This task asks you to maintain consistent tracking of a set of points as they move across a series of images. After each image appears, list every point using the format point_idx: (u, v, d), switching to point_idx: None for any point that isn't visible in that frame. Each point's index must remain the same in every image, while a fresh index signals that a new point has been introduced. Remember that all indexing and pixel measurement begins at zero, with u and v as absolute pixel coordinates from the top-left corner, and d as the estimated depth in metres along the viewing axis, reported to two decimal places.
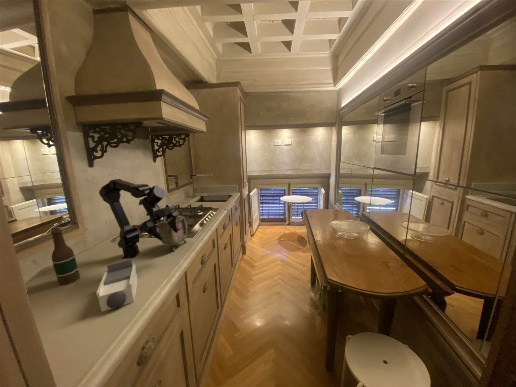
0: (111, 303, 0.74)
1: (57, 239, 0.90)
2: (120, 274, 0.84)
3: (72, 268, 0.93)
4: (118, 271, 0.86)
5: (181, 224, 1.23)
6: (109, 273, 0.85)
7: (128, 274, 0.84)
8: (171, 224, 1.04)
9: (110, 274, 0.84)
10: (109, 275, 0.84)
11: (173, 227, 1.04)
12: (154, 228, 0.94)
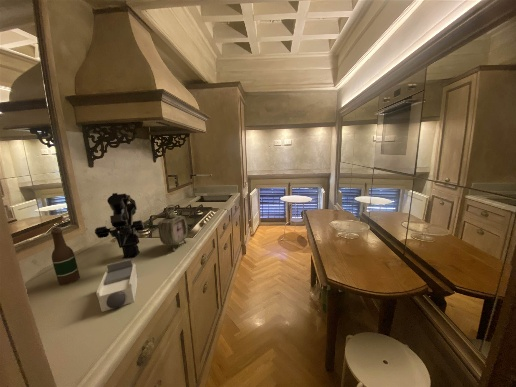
0: (111, 303, 0.74)
1: (57, 239, 0.90)
2: (120, 274, 0.84)
3: (72, 268, 0.93)
4: (118, 271, 0.86)
5: (181, 224, 1.23)
6: (109, 273, 0.85)
7: (128, 274, 0.84)
8: None
9: (110, 274, 0.84)
10: (109, 275, 0.84)
11: None
12: (115, 233, 0.96)
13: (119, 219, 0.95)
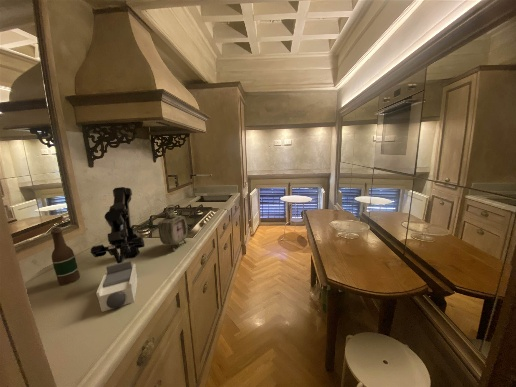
0: (111, 303, 0.74)
1: (56, 239, 0.90)
2: (119, 276, 0.83)
3: (72, 268, 0.93)
4: (117, 273, 0.85)
5: (181, 224, 1.23)
6: (108, 275, 0.84)
7: (128, 276, 0.82)
8: None
9: (109, 276, 0.83)
10: (108, 277, 0.82)
11: None
12: (114, 252, 0.88)
13: (117, 237, 0.86)
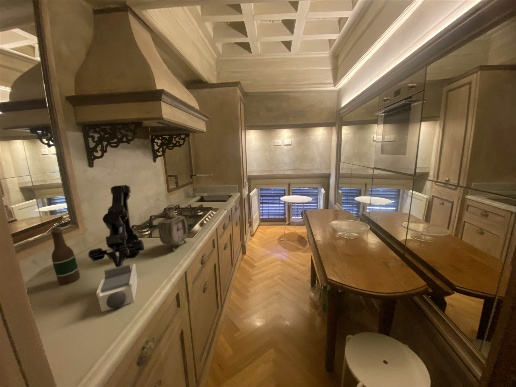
0: (111, 303, 0.74)
1: (57, 239, 0.90)
2: (118, 280, 0.80)
3: (72, 268, 0.93)
4: (116, 277, 0.82)
5: (181, 224, 1.23)
6: (106, 279, 0.81)
7: (126, 281, 0.79)
8: None
9: (108, 280, 0.80)
10: (106, 282, 0.79)
11: None
12: (112, 255, 0.85)
13: (116, 240, 0.83)
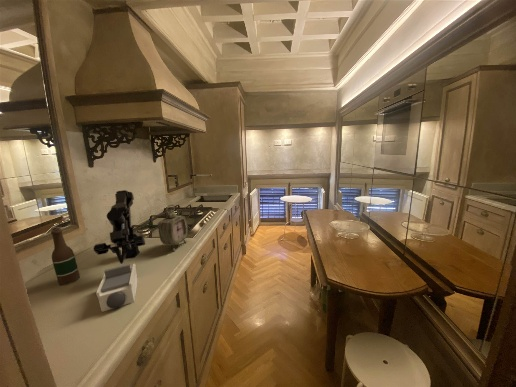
0: (111, 303, 0.74)
1: (57, 239, 0.90)
2: (118, 281, 0.79)
3: (72, 268, 0.93)
4: (116, 278, 0.82)
5: (181, 224, 1.23)
6: (106, 279, 0.81)
7: (126, 281, 0.79)
8: None
9: (107, 281, 0.80)
10: (106, 282, 0.79)
11: None
12: (116, 249, 0.92)
13: (119, 236, 0.90)
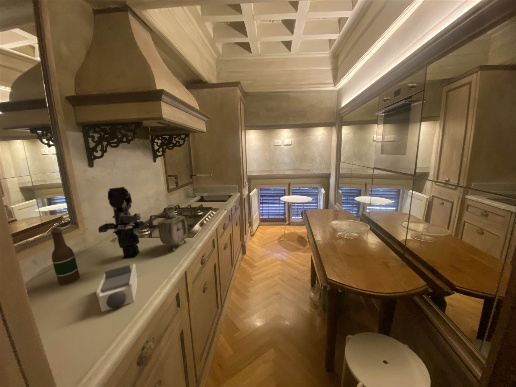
0: (111, 303, 0.74)
1: (57, 239, 0.90)
2: (118, 281, 0.79)
3: (72, 268, 0.93)
4: (116, 278, 0.82)
5: (181, 224, 1.23)
6: (106, 279, 0.81)
7: (126, 281, 0.79)
8: None
9: (107, 281, 0.80)
10: (106, 282, 0.79)
11: None
12: (123, 231, 0.98)
13: (135, 221, 0.99)
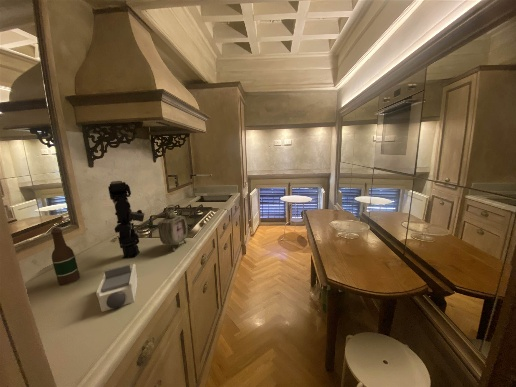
0: (111, 303, 0.74)
1: (57, 239, 0.90)
2: (118, 281, 0.79)
3: (72, 268, 0.93)
4: (116, 278, 0.82)
5: (181, 224, 1.23)
6: (106, 279, 0.81)
7: (126, 281, 0.79)
8: None
9: (107, 281, 0.80)
10: (106, 282, 0.79)
11: None
12: None
13: None
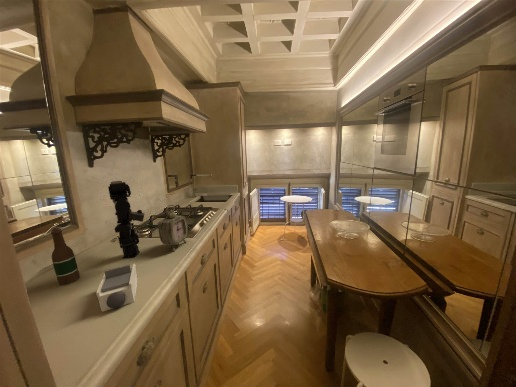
0: (111, 303, 0.74)
1: (56, 239, 0.90)
2: (118, 281, 0.79)
3: (72, 268, 0.93)
4: (116, 278, 0.82)
5: (181, 224, 1.23)
6: (106, 279, 0.81)
7: (126, 281, 0.79)
8: None
9: (107, 281, 0.80)
10: (106, 282, 0.79)
11: None
12: None
13: None
